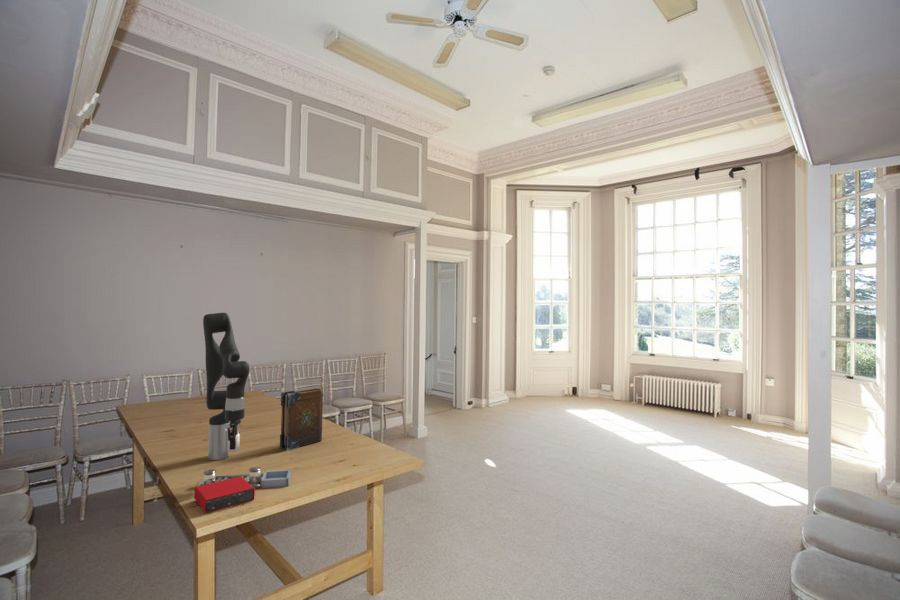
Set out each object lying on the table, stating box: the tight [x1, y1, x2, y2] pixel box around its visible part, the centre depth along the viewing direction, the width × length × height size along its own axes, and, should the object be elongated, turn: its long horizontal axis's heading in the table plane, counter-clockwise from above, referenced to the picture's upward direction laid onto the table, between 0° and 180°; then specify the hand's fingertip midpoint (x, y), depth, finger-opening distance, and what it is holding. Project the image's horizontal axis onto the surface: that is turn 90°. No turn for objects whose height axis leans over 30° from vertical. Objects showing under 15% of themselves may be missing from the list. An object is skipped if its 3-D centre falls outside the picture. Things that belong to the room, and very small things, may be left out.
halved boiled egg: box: [228, 432, 241, 453], centre depth 193 cm, size 4×4×7 cm
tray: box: [260, 469, 292, 489], centre depth 195 cm, size 11×11×3 cm
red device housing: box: [193, 476, 256, 514], centre depth 176 cm, size 18×14×5 cm
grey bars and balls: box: [196, 466, 264, 489], centre depth 191 cm, size 19×26×6 cm
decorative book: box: [279, 387, 324, 452], centre depth 249 cm, size 23×7×30 cm, turn 143°
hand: (233, 447), depth 193 cm, fingers closed on halved boiled egg, 4 cm apart
